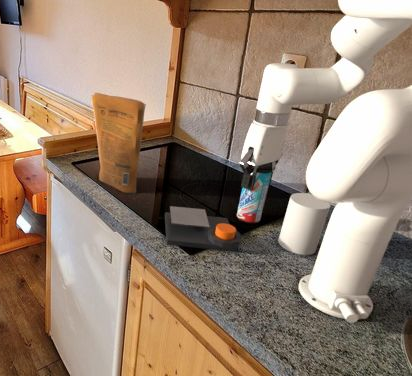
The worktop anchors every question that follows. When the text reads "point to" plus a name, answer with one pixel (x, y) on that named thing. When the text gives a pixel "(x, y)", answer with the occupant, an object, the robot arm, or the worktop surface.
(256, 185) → the beverage can
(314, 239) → the cup
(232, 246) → the scale
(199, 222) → the weighing pan
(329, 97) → the robot arm
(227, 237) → the button
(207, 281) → the worktop surface
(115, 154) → the pancake mix bag
